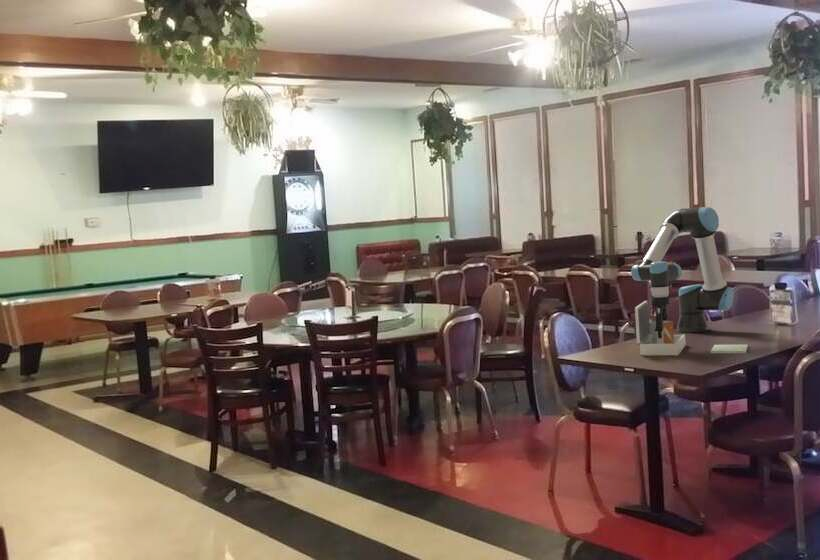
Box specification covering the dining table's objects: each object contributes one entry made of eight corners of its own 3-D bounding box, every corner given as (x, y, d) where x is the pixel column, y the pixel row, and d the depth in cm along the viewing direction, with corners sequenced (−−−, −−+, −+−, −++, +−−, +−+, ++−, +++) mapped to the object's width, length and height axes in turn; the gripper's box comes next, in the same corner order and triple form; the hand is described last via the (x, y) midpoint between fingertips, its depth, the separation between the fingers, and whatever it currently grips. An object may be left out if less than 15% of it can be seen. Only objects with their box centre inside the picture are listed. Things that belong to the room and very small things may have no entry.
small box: (663, 352, 368) (661, 323, 367) (651, 351, 373) (650, 322, 372) (675, 349, 372) (673, 321, 372) (663, 348, 378) (662, 320, 377)
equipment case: (647, 345, 389) (645, 300, 388) (685, 344, 382) (683, 299, 380) (637, 355, 366) (634, 307, 364) (678, 355, 358) (675, 306, 357)
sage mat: (714, 346, 371) (714, 344, 371) (748, 346, 365) (747, 344, 365) (710, 353, 357) (710, 351, 357) (745, 353, 351) (745, 350, 350)
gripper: (656, 293, 384) (658, 338, 385) (647, 299, 362) (649, 347, 363) (673, 292, 381) (675, 338, 382) (664, 299, 358) (667, 347, 360)
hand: (663, 342), depth 373 cm, fingers open, 13 cm apart
